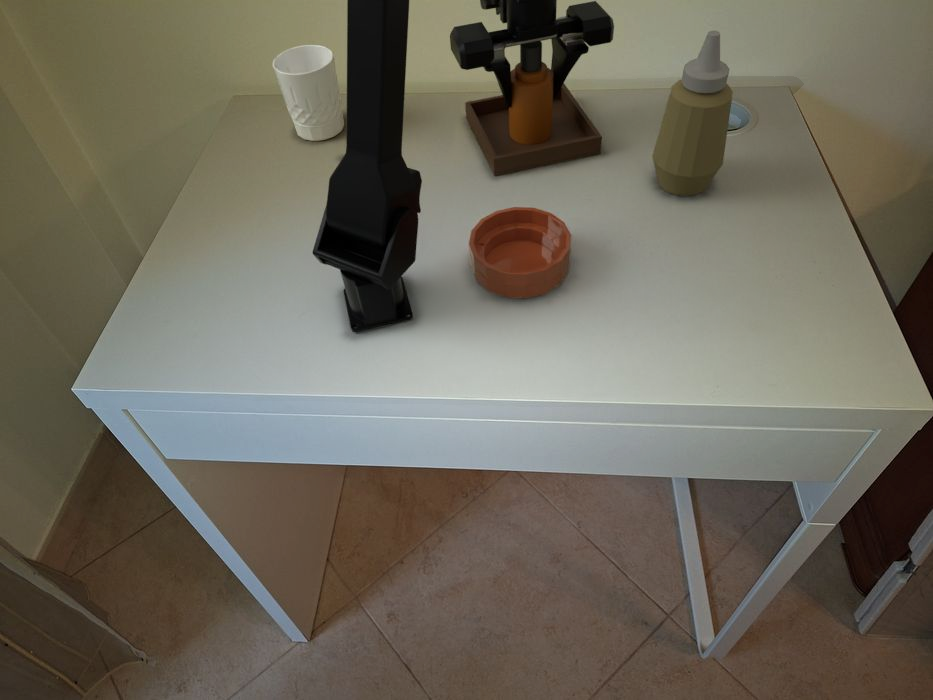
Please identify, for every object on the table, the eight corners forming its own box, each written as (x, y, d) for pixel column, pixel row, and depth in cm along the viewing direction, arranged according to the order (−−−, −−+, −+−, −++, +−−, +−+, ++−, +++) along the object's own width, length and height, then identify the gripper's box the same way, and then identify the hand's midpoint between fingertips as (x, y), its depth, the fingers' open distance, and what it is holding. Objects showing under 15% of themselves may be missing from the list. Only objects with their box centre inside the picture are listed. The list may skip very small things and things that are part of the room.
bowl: (583, 288, 71) (585, 260, 68) (486, 311, 70) (484, 283, 67) (550, 227, 78) (551, 198, 75) (461, 246, 77) (458, 218, 74)
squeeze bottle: (666, 209, 79) (696, 58, 65) (636, 170, 84) (658, 23, 70) (729, 194, 80) (772, 43, 66) (696, 157, 85) (730, 9, 71)
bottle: (557, 139, 88) (561, 49, 79) (516, 148, 88) (515, 58, 79) (543, 117, 92) (545, 29, 83) (504, 126, 91) (501, 37, 82)
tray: (600, 153, 87) (602, 136, 85) (494, 176, 85) (493, 159, 83) (563, 99, 96) (563, 82, 94) (466, 118, 94) (464, 102, 92)
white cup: (339, 145, 92) (323, 74, 84) (285, 143, 93) (263, 73, 85) (354, 113, 97) (340, 44, 89) (302, 112, 98) (284, 44, 90)
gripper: (585, -68, 81) (577, 59, 93) (433, -42, 79) (445, 85, 91) (622, -34, 74) (608, 99, 86) (456, -4, 72) (466, 128, 83)
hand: (530, 101), depth 87 cm, fingers closed on bottle, 5 cm apart
